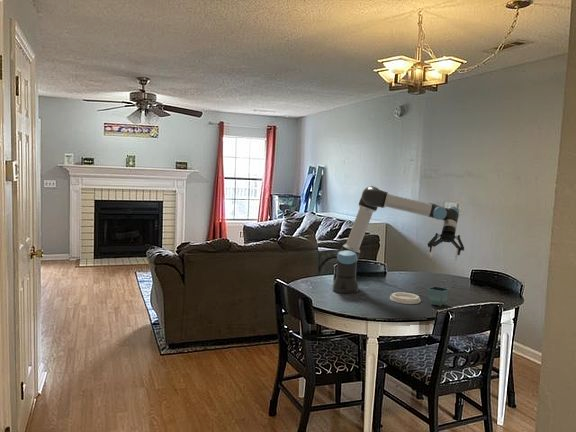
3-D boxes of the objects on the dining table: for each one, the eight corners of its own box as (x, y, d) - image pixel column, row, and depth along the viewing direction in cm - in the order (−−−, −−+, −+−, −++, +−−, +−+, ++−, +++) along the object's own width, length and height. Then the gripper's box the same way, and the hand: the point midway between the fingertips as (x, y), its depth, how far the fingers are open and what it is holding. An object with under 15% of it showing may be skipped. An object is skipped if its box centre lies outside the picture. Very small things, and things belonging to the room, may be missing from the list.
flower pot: (433, 301, 278) (434, 286, 277) (448, 304, 272) (449, 288, 272) (426, 304, 271) (427, 288, 270) (442, 307, 266) (443, 291, 265)
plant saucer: (403, 305, 267) (403, 300, 267) (383, 297, 282) (383, 293, 282) (427, 302, 275) (427, 298, 275) (406, 295, 290) (406, 291, 290)
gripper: (471, 234, 287) (466, 264, 275) (428, 231, 298) (421, 259, 286) (471, 226, 282) (466, 256, 270) (427, 223, 293) (420, 251, 281)
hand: (443, 257), depth 278 cm, fingers open, 13 cm apart
